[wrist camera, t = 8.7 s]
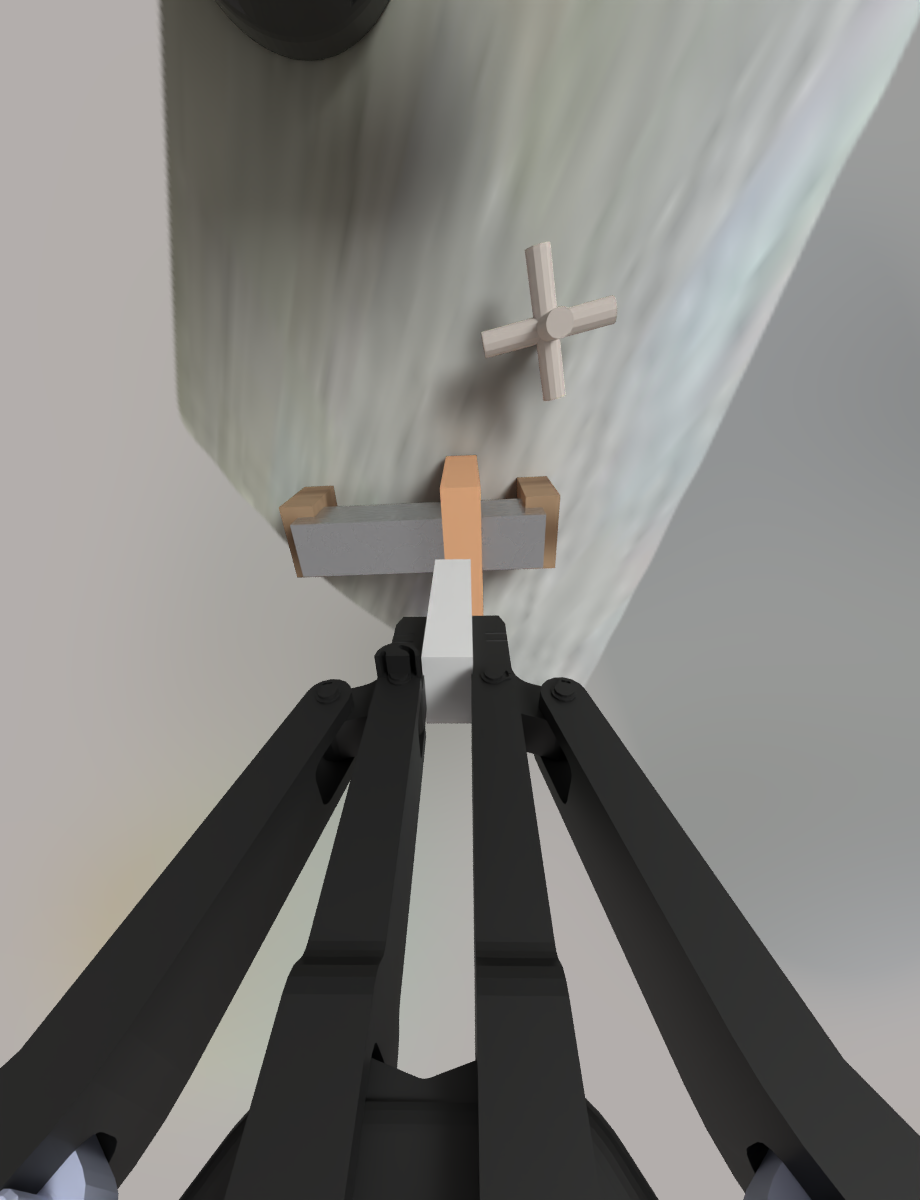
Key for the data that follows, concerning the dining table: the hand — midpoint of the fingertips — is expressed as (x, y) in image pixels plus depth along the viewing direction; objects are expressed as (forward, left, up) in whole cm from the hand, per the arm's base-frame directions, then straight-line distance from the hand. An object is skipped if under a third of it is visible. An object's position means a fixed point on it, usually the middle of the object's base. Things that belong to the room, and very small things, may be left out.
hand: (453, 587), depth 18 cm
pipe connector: (-10, +7, -27) cm, 30 cm away
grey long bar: (+6, -4, -23) cm, 24 cm away
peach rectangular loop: (+6, 0, -27) cm, 28 cm away
